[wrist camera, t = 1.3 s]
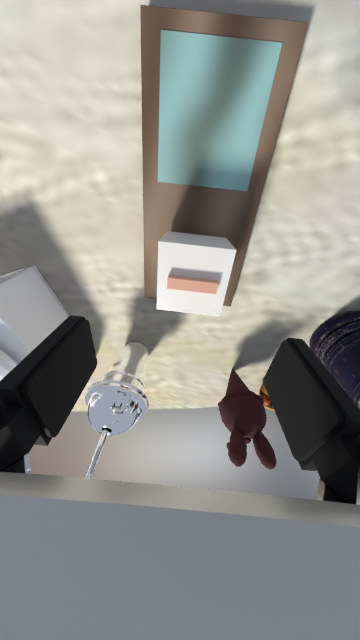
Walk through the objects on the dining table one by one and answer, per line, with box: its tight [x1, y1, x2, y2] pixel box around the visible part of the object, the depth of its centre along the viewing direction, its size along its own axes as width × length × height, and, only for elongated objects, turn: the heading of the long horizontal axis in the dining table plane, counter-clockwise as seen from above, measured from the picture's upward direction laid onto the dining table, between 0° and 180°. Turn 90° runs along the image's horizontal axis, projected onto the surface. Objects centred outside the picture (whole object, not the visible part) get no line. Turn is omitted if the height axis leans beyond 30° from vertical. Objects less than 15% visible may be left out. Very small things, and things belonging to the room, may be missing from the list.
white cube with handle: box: [157, 231, 236, 316], centre depth 19 cm, size 6×6×7 cm
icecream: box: [218, 370, 276, 469], centre depth 28 cm, size 7×7×15 cm
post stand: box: [141, 5, 308, 306], centre depth 17 cm, size 12×23×8 cm, turn 175°
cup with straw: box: [85, 342, 149, 479], centre depth 25 cm, size 8×9×20 cm
